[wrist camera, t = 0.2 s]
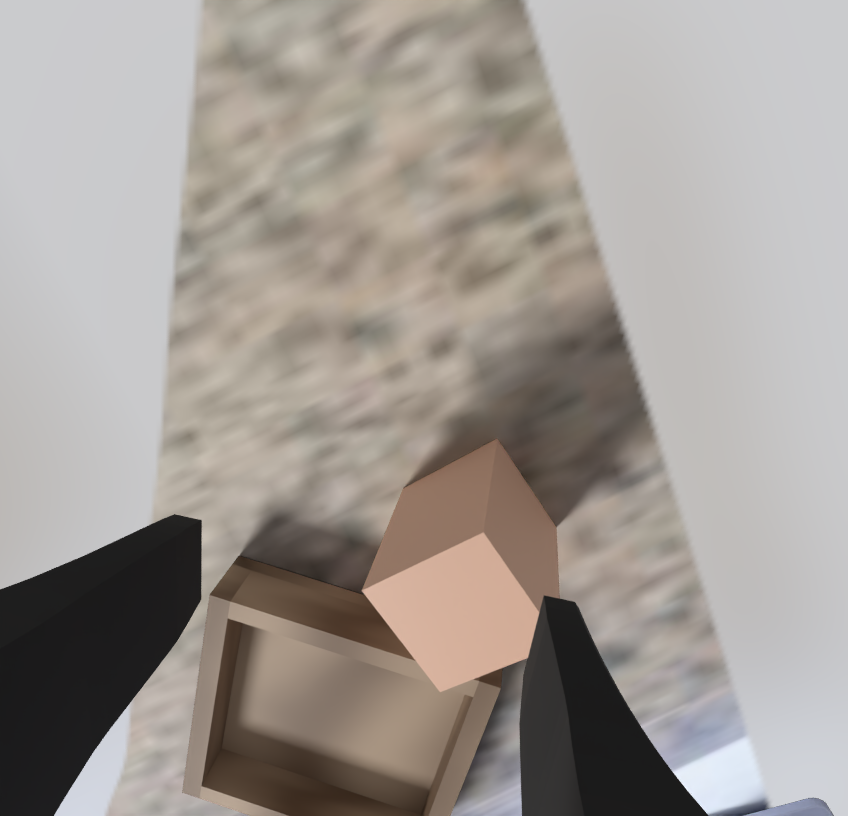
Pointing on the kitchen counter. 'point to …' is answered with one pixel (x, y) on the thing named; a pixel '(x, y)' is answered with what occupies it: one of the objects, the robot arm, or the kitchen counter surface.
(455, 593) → the block
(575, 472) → the kitchen counter surface
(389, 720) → the tray
